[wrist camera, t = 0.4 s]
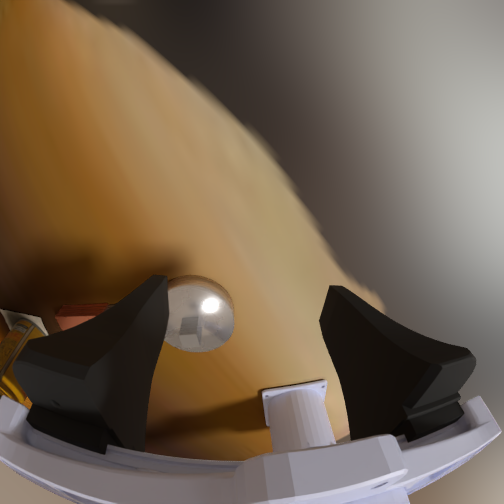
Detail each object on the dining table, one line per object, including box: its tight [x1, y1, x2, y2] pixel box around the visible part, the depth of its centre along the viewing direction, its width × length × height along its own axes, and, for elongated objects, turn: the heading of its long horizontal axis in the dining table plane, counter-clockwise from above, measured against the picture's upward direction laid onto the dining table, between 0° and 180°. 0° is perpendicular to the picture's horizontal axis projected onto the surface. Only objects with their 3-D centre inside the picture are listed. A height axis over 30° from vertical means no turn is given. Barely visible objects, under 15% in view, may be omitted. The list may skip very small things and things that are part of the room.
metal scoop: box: [55, 275, 234, 352], centre depth 22 cm, size 18×7×4 cm, turn 96°
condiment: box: [0, 309, 48, 403], centre depth 19 cm, size 7×8×12 cm
